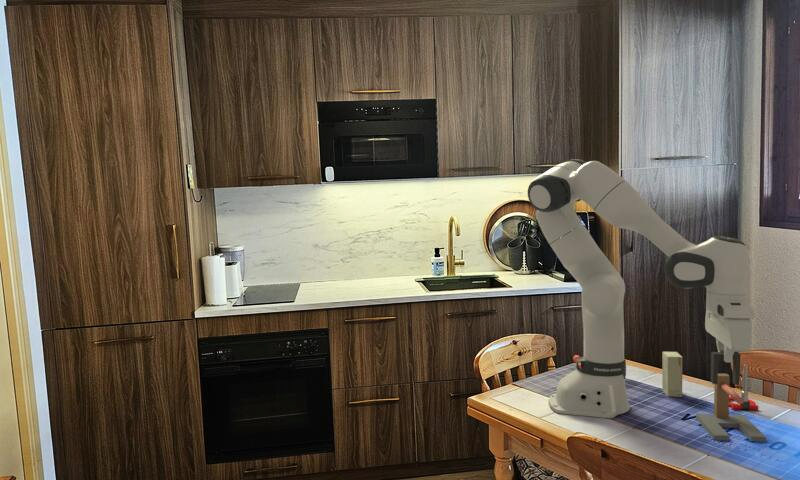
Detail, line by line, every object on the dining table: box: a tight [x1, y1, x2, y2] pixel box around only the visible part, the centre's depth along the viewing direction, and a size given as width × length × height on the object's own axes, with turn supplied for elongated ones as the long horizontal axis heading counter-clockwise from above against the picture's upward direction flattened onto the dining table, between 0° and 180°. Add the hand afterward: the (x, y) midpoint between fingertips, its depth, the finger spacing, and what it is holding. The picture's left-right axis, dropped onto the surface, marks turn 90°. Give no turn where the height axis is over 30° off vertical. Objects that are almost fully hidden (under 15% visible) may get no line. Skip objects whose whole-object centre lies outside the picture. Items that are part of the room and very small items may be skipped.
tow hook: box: [729, 363, 759, 411], centre depth 174 cm, size 8×13×9 cm
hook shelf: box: [695, 373, 767, 442], centre depth 157 cm, size 12×14×13 cm
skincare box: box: [661, 351, 683, 398], centre depth 184 cm, size 6×4×12 cm
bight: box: [710, 351, 741, 386], centre depth 148 cm, size 6×2×8 cm, turn 80°
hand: (725, 359), depth 148 cm, fingers closed on bight, 2 cm apart
